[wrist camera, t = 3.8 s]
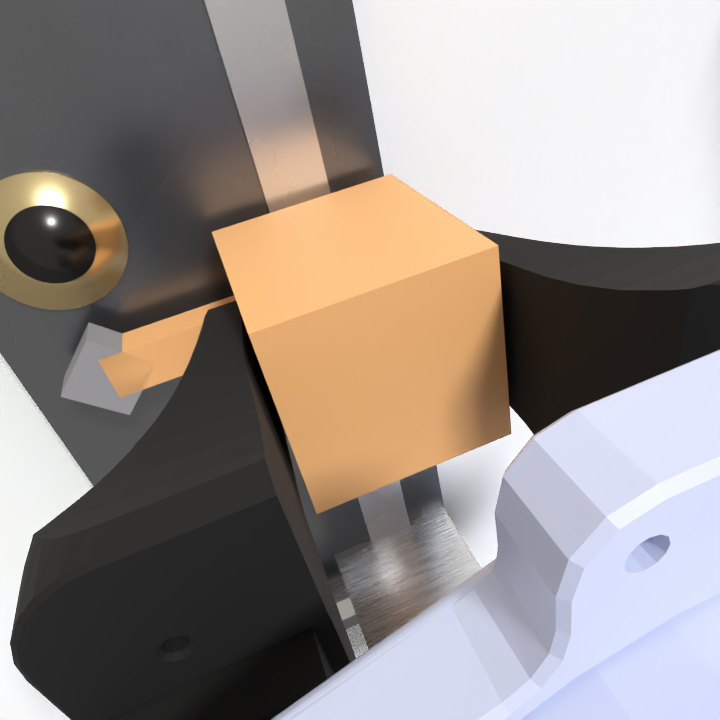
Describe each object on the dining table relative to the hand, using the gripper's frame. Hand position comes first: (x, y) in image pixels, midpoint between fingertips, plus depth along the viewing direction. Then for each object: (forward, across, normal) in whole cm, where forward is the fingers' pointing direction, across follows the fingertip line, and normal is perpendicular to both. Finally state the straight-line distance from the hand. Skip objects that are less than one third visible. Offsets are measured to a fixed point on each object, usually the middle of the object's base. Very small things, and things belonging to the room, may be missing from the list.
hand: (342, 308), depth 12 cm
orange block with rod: (+1, +2, 0) cm, 2 cm away
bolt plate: (+3, +2, +3) cm, 5 cm away
